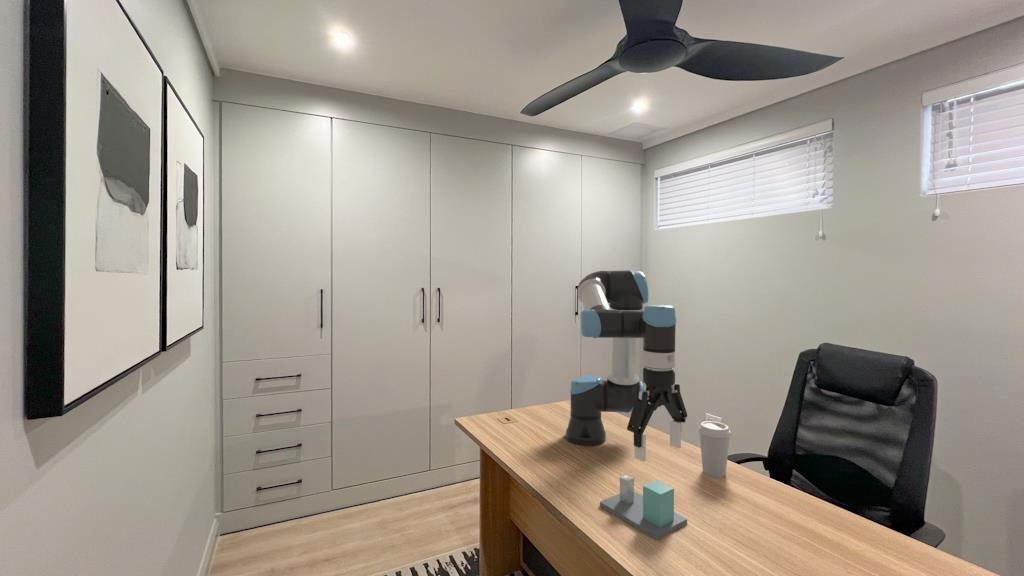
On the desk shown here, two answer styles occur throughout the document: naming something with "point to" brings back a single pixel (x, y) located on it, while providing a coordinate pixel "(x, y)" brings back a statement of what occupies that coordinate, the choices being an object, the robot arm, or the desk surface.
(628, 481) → the post
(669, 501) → the tall teal pillar
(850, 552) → the desk surface
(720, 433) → the coffee cup
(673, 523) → the slate board
